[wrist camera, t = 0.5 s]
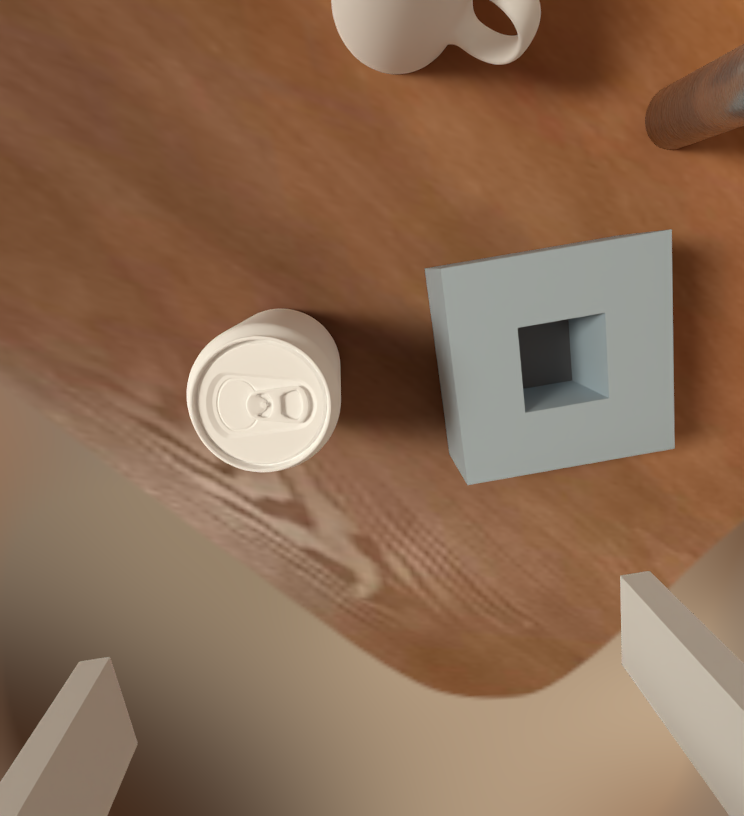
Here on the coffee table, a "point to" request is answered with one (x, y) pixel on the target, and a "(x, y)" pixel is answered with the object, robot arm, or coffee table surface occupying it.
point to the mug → (429, 31)
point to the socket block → (556, 355)
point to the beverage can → (267, 391)
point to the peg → (699, 104)
